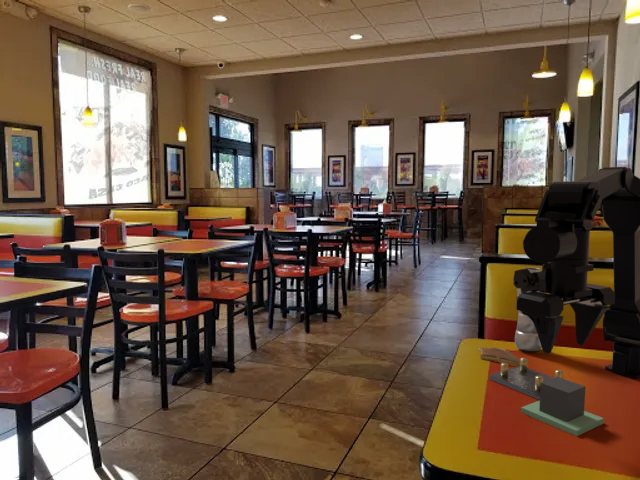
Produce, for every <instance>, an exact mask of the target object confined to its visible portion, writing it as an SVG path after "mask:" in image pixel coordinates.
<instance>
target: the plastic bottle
mask: <svg viewBox="0 0 640 480" xmlns="http://www.w3.org/2000/svg"><path fill="white" fill-rule="evenodd" d="M523 269H528V270H529V271H530V272H531V273H533V272H539V271H541V268H538V267H524V268H523ZM529 292H531V291H529ZM536 292H539V291H536ZM541 293H542V292H541ZM516 294H517V295H516V296H517V297H518V296H519V295H520V294H521V290H520V288H519V289H518V288H516ZM517 311H518V315H517V316H518V317H517V323H516V324H517V325H516V330H515V334H514V344H515V346H516V348H517V349H519V350H521V351H524V352H525V351H526V352H538V351H540V350H541V349H542V347H541V343H540V340H539V337H538V334H537V331H536V328H535V326H534V323H533V321H532V320H531V319H530V318H529V317H528V316H527V315H524V314H522V312H521V311H519V310H517Z"/></svg>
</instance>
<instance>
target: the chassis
mask: <svg viewBox="0 0 640 480" xmlns="http://www.w3.org/2000/svg"><path fill="white" fill-rule="evenodd" d="M519 360H520V366H519V367H512V368H509V365H508V364H507V363H500V371H498V372H494V373H489V377H488V378H489V380H490V381H493V382H495V383H498V384H500V385H503V386H505V387H507V388H510V389H511V390H514V391H517V392H519V393H522V394H523V395H526V396H529V397H531V398H533V397H534V399H536V400H538V399H539V400H540V387H541V383H542V382H545V381H547V380H550V379H553V378H556V377H559V378H562V379H564V371H563V370H562V369H555V370H554V376H551V375H548V374H545V373H542V372H540V371H537V370H535V369H532V368H529V367H528V360H529V359H528V358H527V357H520V358H519ZM539 400H538V401H539Z"/></svg>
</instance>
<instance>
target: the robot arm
mask: <svg viewBox="0 0 640 480" xmlns="http://www.w3.org/2000/svg"><path fill="white" fill-rule="evenodd" d="M598 210H602V217H603V221H604V223H605V224H606V225H607V227H608V228H609V229H610V231H611V232H612V248H613V249H612V250H613V251H612V252H613V253H612V254H613V256H612V257H613V260H612V262H613V289H612V288H611V286H605V285H599V284H593V283H588V272H592V271H594V267H595V265H594V264H592V263H591V264H590V263H589V256H590V255H589V252H590V237H591V236H590V235H591V230H592V229H593V228H594V227H593V223H592V222H591V221H593V220H594V219H595V217H596V215H597V213H598ZM534 222H535V223H536V226H535V227H532V228H531V229H530V230H528V232H526V234H525V236H524V239H523V240H522V247H523V251H524V253H525V255H526V256H527V257H528V259H529V260H531V261H533V262H534V263H538V264H542V267H541V268H542V269H541V270H540V271H539V272H533V273H531V272H530V271H529V270H528V269H524V268H521V269H517V270H514V273H513V278H512V280H513V286H514V287H515V288H516V289H517V288H518V289H519V288H520V290H521V294H520V295H519V296H517V297H515V298H516V299H515V309H516V311H518V310H519V311H521V312H522V314H524V315H527V316H528V317H529V318H530V319H531V320H532V321H533V323H534V326H535V328H536V331H537V334H538V337H539V340H540V343H541V347H542V348H541V349H542V352H543V353H544V354H547V355H550V354H551V353H552V350H553V349H554V345H555V343H556V340H557V337H558V334H559V331H560V328H561V326H562V323H563V320H564V316H563V315H561V314H562V312H563V311H564V306H565V305H569V306H570V307H571V309H572V310H573V311H574V318H575V320H574V322H575V338H576V339H575V340H576V344H577V345H581V346H584V345H585V344H586V342H587V341H588V339H589V338H590V336H591V334H592V333H593V331H594V329H595V328H596V326H598V324H599V322H600V321H601V319H602V318H603V319H602V330H603V340H604V342H610V343H613V345H612V346H613V347H612V359H611V361H612V362H611V364H609V365H606V366H604V369H605V370H607V371H611V372H613V373H616V374H620V375H623V376H626V377H629V378H632V379H638V378H640V178H639V177H638V176H637V175H635V173H634V172H633V170H632V169H631V167H627V166H612V167H611V166H608V167H607V166H606V167H605V166H604V167H603V168H599V169H598V170H597V171H596V172H594V173H592V174H589V175H587V176H585V177H583V178H581V179H578V180H571V181H570V180H567V181H566V180H564V181H553V182H552V183H550V185H549V186H548V188H547V189H546V191H545V193H544V195H543V197H542V200H541V203H540V206H539V208H538V210H537V213H536V216H535V219H534ZM529 291H531V292H529ZM536 291H539V292H536ZM541 292H542V293H541ZM519 311H518V312H519Z"/></svg>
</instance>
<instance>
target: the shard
mask: <svg viewBox="0 0 640 480" xmlns="http://www.w3.org/2000/svg"><path fill="white" fill-rule="evenodd" d="M478 351H479V352H480V356H479V357H480V360H485V361H491V362H494V363H499V364H501V363H507V364H508V366H510V367H513V368H515V367H519V366H520V358H518V357H517V356H516V355H515V354H514V353H512V351H511V352H510V351H509V350H507V349H505V348H500V347H478Z"/></svg>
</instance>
